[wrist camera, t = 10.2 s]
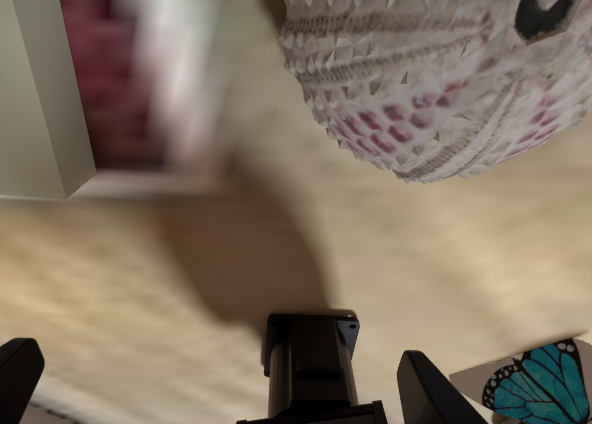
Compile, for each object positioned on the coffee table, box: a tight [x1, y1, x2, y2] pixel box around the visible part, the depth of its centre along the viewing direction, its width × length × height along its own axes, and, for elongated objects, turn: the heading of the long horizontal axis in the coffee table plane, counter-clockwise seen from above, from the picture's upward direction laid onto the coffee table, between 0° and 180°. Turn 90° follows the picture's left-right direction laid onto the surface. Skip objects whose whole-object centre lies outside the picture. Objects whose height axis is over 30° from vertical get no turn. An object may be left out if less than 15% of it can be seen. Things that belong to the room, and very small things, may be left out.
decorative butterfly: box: [449, 338, 592, 424], centre depth 27 cm, size 10×6×10 cm
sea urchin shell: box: [277, 0, 592, 184], centre depth 12 cm, size 13×14×8 cm
